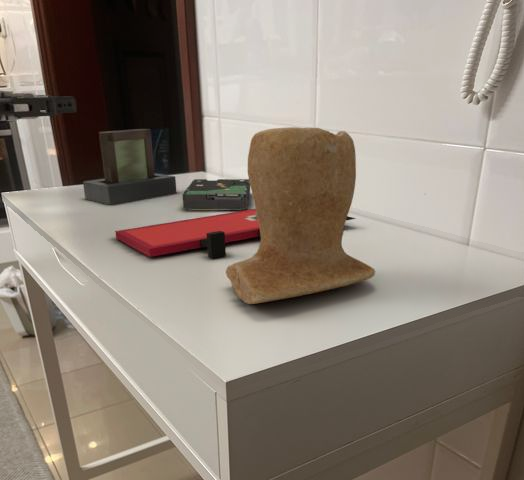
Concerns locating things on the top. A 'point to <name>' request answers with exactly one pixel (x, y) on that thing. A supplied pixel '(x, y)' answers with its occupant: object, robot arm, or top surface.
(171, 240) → the red board with handle
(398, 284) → the top surface
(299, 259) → the brown stone sculpture
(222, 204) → the disk drive
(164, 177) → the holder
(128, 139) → the picture frame
